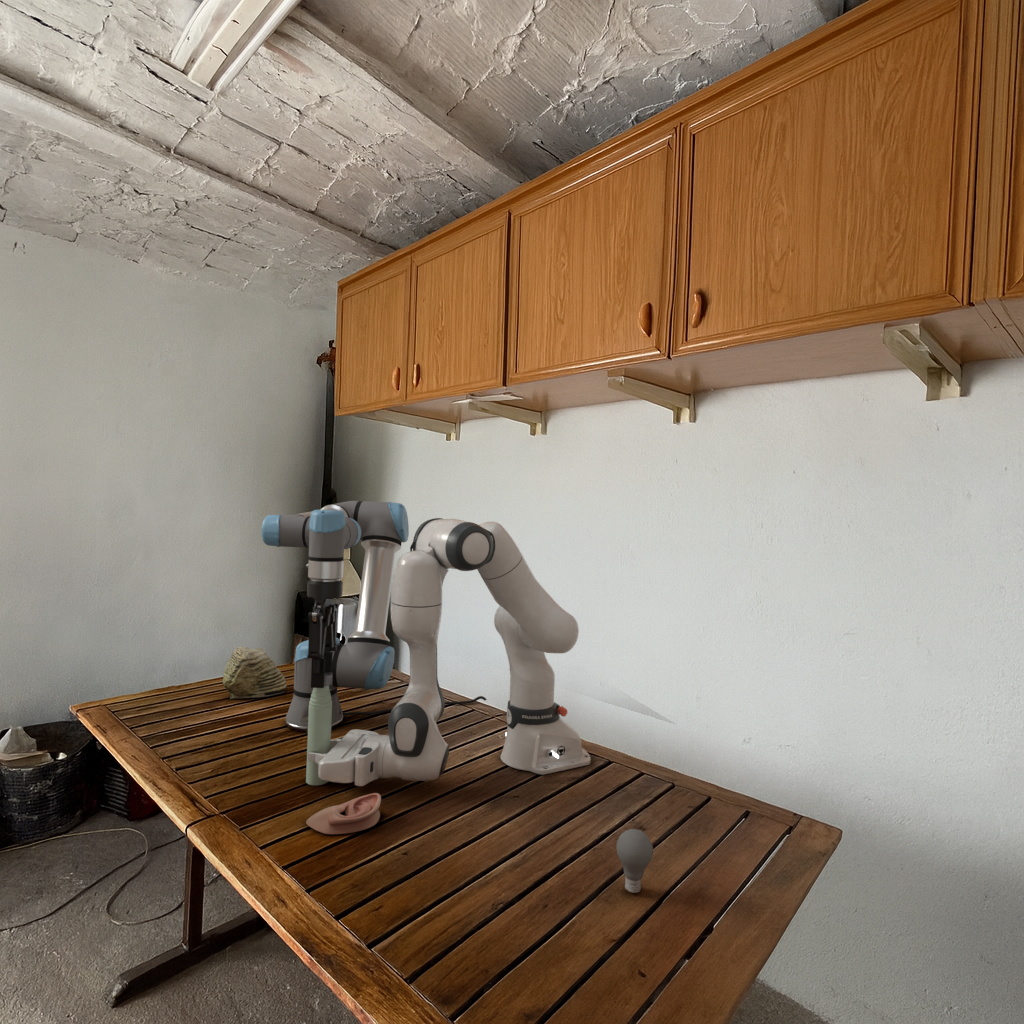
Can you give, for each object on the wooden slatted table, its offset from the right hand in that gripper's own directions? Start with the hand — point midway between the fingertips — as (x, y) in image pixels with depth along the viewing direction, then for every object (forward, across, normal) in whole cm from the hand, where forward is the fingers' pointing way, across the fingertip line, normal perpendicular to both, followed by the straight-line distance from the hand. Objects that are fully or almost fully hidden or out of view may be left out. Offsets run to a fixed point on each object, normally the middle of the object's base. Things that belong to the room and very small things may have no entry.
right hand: (314, 750), depth 141 cm
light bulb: (-68, +29, +7) cm, 74 cm away
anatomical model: (-13, +16, +7) cm, 22 cm away
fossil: (+42, -53, +7) cm, 68 cm away
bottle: (-1, 0, +7) cm, 7 cm away
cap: (-1, 0, -17) cm, 17 cm away
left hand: (-1, 0, -15) cm, 15 cm away
